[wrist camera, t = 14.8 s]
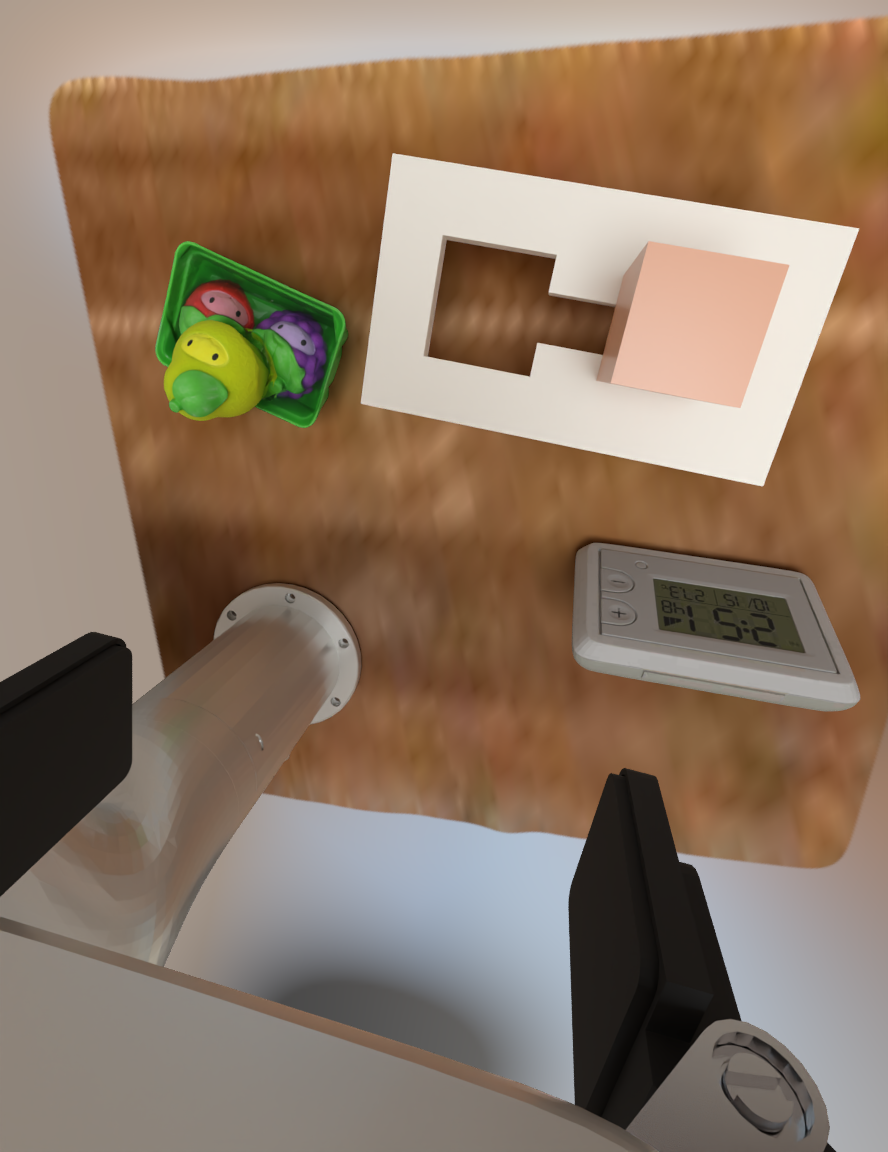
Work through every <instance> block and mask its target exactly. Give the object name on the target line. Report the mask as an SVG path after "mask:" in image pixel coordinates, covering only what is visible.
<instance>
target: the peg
mask: <svg viewBox="0 0 888 1152" xmlns="http://www.w3.org/2000/svg"><path fill="white" fill-rule="evenodd" d="M788 268H789V265H787V264H781V263H775V262H769V261H763V260H758V259H752V258H746V257H740V256H734V255H728V254H722V253H716V252H710V251H704V250H698V249H692V248H686V247H681V246H675V245H669V244H663V243H657V242H651V241H648V243H647V244H646V245H645V247H644V248H643V249H642V251H641V252H640V253H639V255H638V256H637V258H636V259H635V260H634V262H633V263H632V264H631V266H630V267H629V268H628V270H627V271H626V273H625V274H624V276H623V279H622V283H621V287H620V291H619V295H618V299H617V303H616V307H615V310H614V314H613V318H612V322H611V326H610V329H609V332H608V336H607V341H606V345H605V349H604V353H603V357H602V361H601V365H600V369H599V372H598V376H597V380H596V381H600V382H605V383H610V384H615V385H620V386H625V387H631V388H636V389H641V390H646V391H651V392H656V393H661V394H667V395H672V396H677V397H682V398H687V399H692V400H698V401H703V402H709V403H714V404H720V405H726V406H731V407H737V408H741V405H742V402H743V399H744V396H745V393H746V390H747V387H748V384H749V382H750V379H751V376H752V373H753V370H754V367H755V364H756V361H757V358H758V355H759V353H760V350H761V347H762V344H763V341H764V338H765V335H766V332H767V329H768V326H769V323H770V321H771V318H772V315H773V312H774V309H775V306H776V303H777V300H778V297H779V294H780V291H781V289H782V286H783V283H784V280H785V277H786V274H787V271H788Z"/></svg>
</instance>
